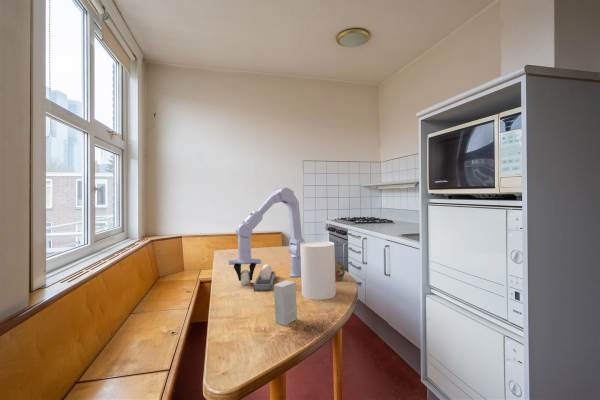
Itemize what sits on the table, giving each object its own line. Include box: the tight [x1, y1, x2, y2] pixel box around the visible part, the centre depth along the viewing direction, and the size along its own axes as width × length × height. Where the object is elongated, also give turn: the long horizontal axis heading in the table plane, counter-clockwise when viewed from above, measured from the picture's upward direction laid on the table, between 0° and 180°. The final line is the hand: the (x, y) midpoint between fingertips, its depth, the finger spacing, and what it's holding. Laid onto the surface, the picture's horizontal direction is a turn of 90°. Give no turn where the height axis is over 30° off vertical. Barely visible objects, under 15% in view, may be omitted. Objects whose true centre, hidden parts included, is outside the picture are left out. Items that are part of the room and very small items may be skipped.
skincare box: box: [273, 279, 298, 326], centre depth 90 cm, size 6×4×12 cm
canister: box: [300, 240, 337, 301], centre depth 114 cm, size 14×14×20 cm
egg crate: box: [253, 263, 276, 292], centre depth 130 cm, size 7×21×7 cm, turn 0°
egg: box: [240, 269, 252, 286], centre depth 130 cm, size 4×4×6 cm
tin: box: [335, 261, 346, 282], centre depth 132 cm, size 15×3×8 cm, turn 73°
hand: (245, 280), depth 130 cm, fingers closed on egg, 4 cm apart
